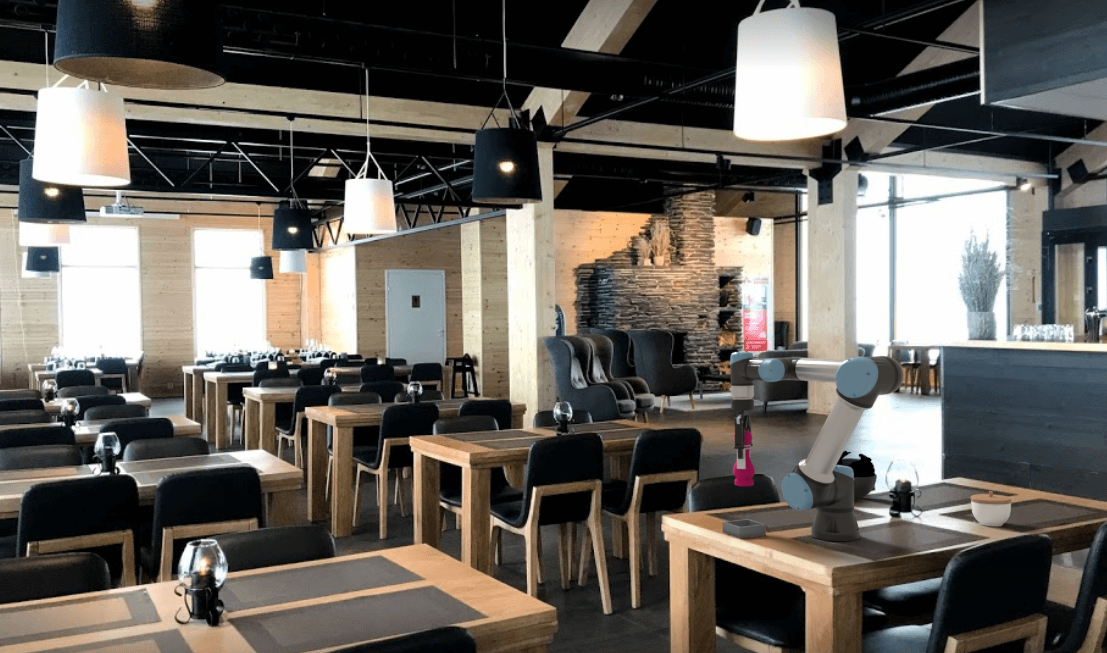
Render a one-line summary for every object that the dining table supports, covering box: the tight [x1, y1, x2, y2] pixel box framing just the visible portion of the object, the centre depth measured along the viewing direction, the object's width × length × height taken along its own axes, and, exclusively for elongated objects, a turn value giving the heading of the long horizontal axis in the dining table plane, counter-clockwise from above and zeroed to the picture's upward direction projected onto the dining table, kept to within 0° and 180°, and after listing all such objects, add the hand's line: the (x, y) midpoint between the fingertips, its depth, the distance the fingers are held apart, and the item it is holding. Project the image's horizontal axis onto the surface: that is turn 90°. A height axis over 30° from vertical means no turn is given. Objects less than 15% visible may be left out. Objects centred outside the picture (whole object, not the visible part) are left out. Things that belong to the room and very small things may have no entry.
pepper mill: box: [732, 430, 756, 487], centre depth 335 cm, size 7×7×20 cm
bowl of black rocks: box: [836, 450, 878, 501], centre depth 385 cm, size 20×20×19 cm
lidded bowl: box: [970, 491, 1012, 527], centre depth 337 cm, size 13×13×11 cm
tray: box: [722, 518, 767, 539], centre depth 326 cm, size 10×10×4 cm
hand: (743, 467), depth 335 cm, fingers closed on pepper mill, 6 cm apart
